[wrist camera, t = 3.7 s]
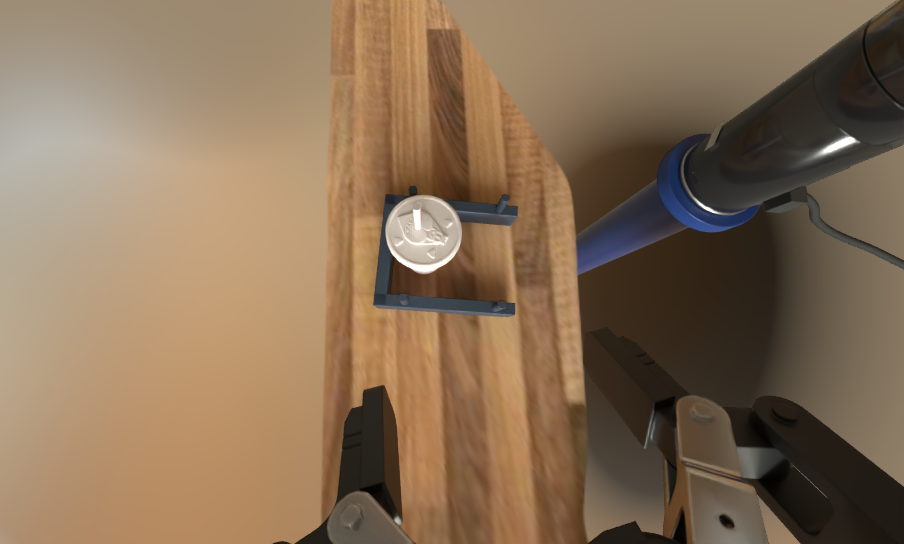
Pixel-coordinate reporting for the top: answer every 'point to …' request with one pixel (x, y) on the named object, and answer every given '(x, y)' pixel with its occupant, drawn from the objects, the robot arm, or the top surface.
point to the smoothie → (423, 233)
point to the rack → (384, 299)
